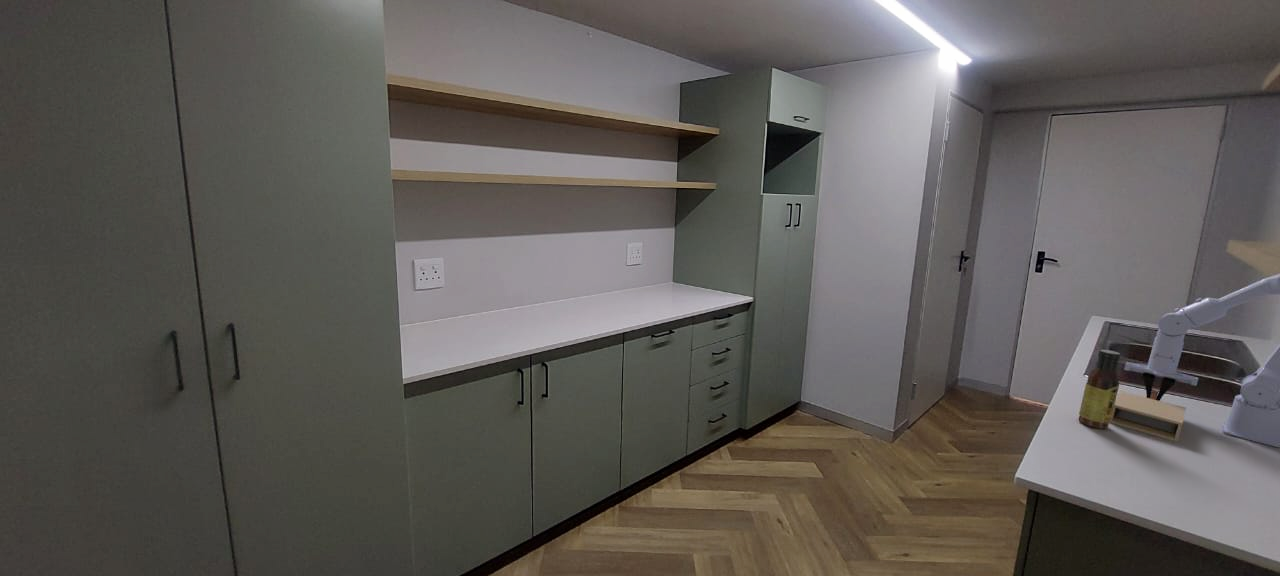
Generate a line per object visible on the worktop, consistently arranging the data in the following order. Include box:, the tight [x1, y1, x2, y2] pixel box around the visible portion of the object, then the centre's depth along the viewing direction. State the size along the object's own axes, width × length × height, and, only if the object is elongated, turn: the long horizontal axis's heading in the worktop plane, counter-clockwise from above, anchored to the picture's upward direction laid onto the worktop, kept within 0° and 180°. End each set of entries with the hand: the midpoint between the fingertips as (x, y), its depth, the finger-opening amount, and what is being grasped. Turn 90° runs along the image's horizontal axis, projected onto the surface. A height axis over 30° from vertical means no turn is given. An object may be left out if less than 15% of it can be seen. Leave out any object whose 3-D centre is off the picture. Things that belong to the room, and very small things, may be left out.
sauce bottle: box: [1078, 349, 1121, 429], centre depth 135 cm, size 7×6×20 cm
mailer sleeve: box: [1109, 391, 1187, 443], centre depth 138 cm, size 15×13×5 cm
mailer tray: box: [1116, 389, 1176, 433], centre depth 142 cm, size 20×11×4 cm, turn 132°
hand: (1152, 401), depth 148 cm, fingers closed on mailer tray
